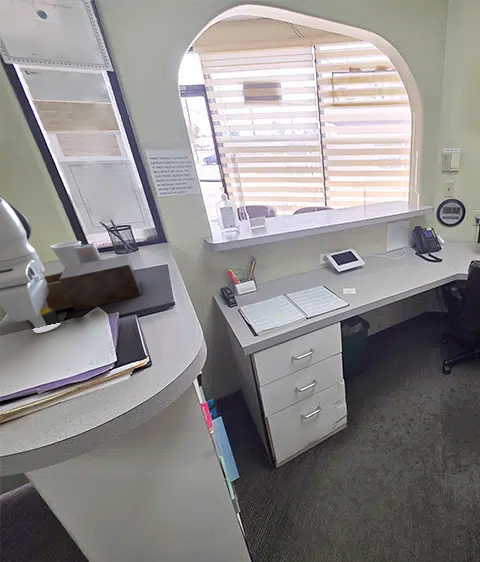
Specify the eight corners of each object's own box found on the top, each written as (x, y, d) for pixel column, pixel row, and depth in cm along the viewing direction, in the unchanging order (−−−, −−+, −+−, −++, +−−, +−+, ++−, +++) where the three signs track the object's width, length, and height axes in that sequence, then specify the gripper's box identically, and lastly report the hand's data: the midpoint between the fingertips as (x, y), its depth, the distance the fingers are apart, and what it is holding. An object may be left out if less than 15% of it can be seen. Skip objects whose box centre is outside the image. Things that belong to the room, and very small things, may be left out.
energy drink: (105, 275, 108) (91, 242, 103) (112, 278, 105) (97, 244, 100) (86, 281, 104) (70, 247, 99) (93, 284, 101) (77, 249, 96)
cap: (31, 336, 72) (21, 319, 70) (35, 328, 76) (26, 311, 74) (60, 328, 75) (51, 312, 73) (62, 320, 78) (54, 305, 77)
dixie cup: (65, 269, 117) (53, 243, 113) (93, 264, 121) (82, 239, 117) (60, 275, 111) (47, 248, 107) (90, 269, 115) (78, 244, 111)
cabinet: (75, 311, 83) (59, 279, 79) (79, 296, 92) (65, 266, 88) (141, 295, 91) (129, 264, 87) (138, 282, 100) (127, 254, 96)
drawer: (-1, 327, 75) (-19, 298, 72) (10, 310, 83) (-5, 284, 80) (94, 303, 85) (81, 277, 82) (95, 290, 93) (84, 266, 90)
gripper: (6, 261, 75) (34, 311, 80) (-21, 286, 60) (16, 345, 65) (42, 255, 78) (66, 303, 84) (25, 277, 63) (56, 334, 69)
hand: (44, 322), depth 75 cm, fingers closed on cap, 5 cm apart
